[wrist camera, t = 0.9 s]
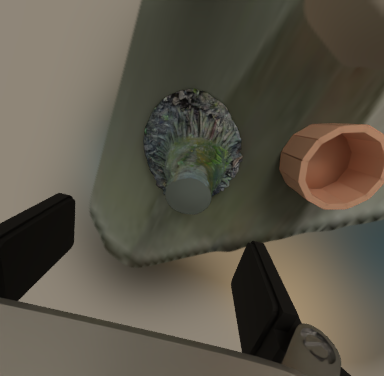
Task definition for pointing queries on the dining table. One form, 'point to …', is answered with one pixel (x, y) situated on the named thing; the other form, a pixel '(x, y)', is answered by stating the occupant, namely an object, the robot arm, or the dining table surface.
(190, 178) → the tree stump
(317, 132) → the bowl
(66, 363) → the robot arm
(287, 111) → the dining table surface
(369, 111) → the dining table surface
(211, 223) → the dining table surface
